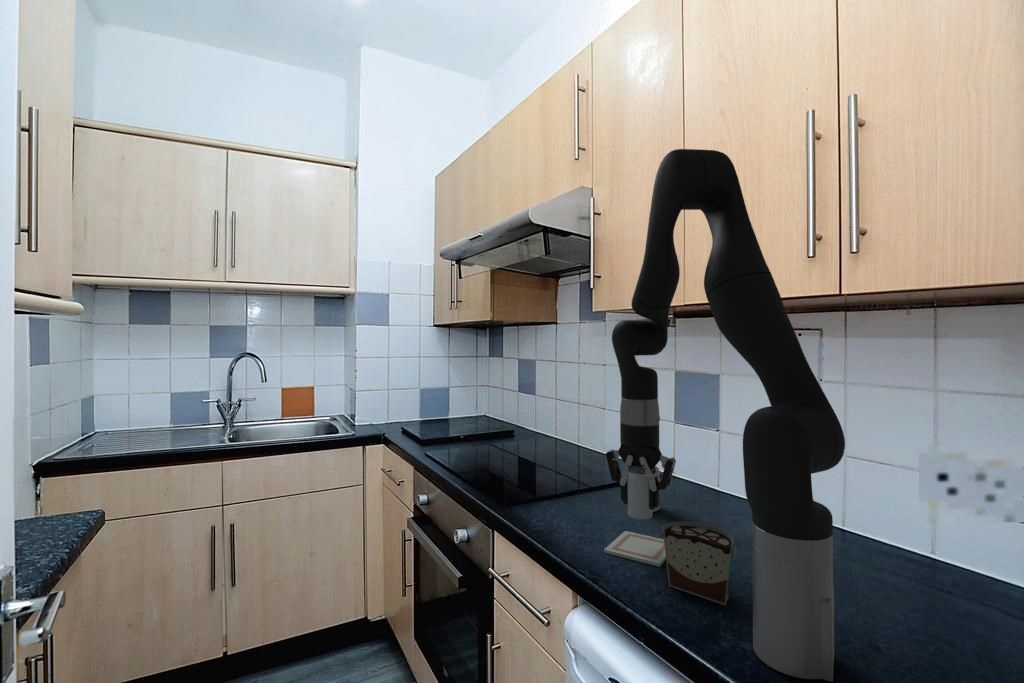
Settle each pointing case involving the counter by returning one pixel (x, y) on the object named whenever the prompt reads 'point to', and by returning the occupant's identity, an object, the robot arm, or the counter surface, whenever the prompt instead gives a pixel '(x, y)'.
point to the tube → (638, 493)
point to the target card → (638, 548)
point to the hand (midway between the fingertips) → (640, 505)
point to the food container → (699, 559)
